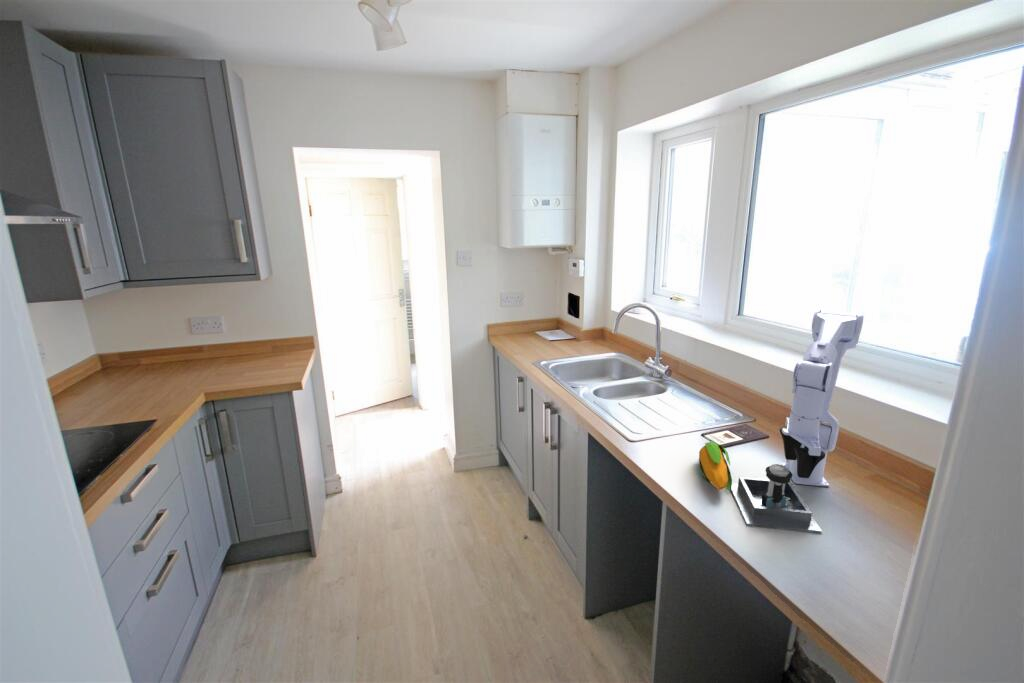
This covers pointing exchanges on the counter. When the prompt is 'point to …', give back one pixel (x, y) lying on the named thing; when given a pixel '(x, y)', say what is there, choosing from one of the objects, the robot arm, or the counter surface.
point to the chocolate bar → (735, 435)
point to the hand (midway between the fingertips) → (796, 467)
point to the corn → (715, 465)
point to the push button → (776, 486)
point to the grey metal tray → (768, 517)
